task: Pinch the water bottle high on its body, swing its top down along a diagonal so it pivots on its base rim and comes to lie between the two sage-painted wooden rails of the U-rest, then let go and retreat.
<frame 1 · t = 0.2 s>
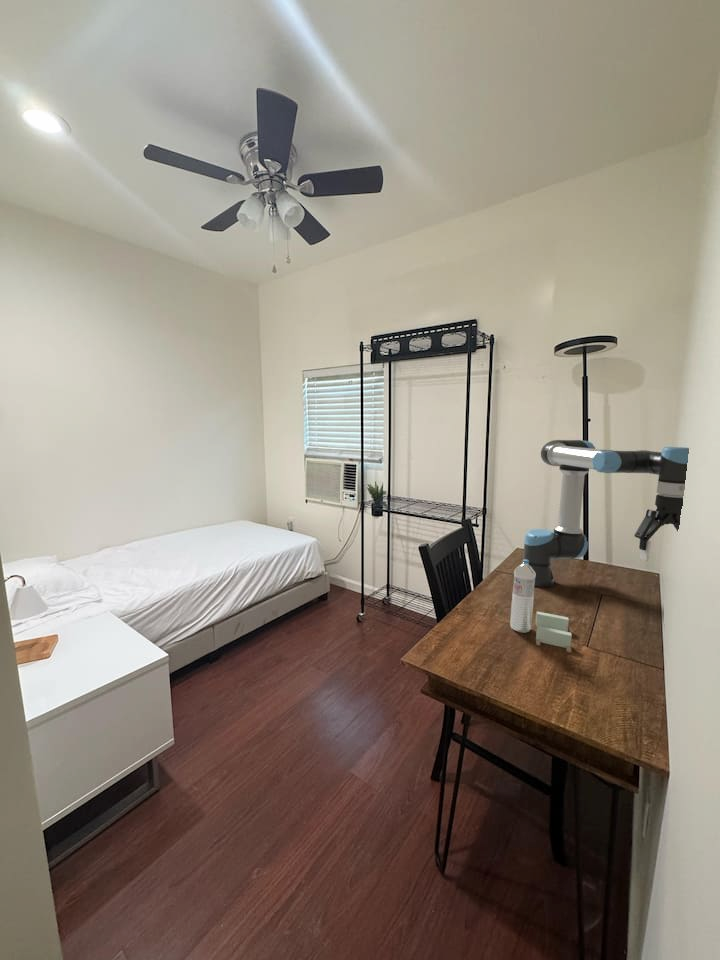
hand: (662, 558, 125), 28 cm above the table, fingers open, 13 cm apart
u rest: (551, 635, 130), on the table
water bottle: (520, 628, 134), on the table
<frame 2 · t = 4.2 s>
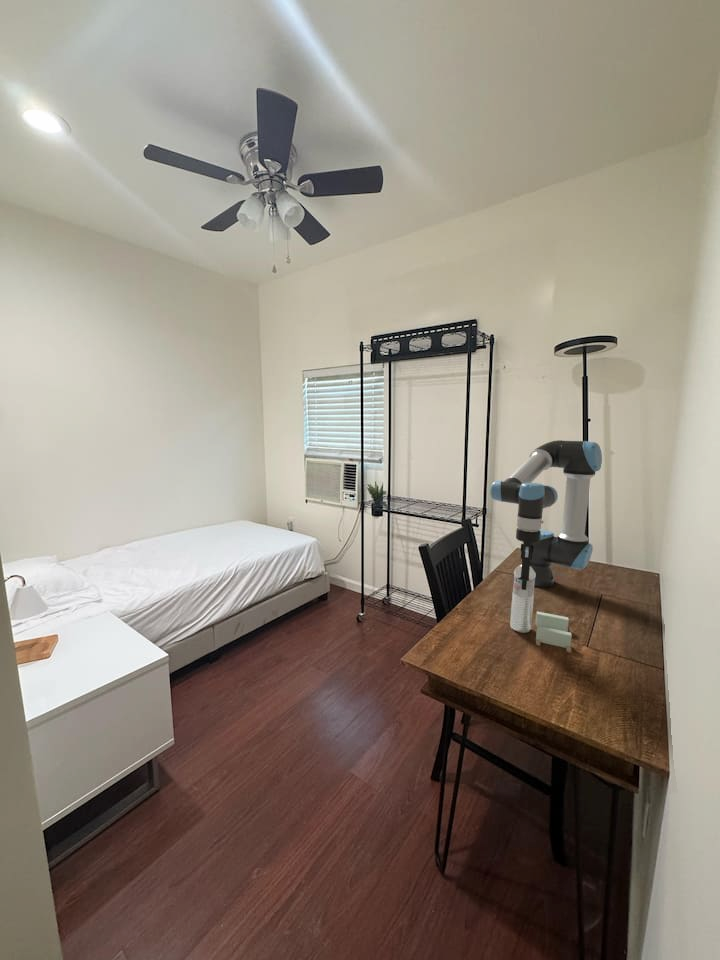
hand: (523, 593, 132), 13 cm above the table, fingers closed on water bottle, 7 cm apart
water bottle: (520, 628, 134), on the table, touching gripper
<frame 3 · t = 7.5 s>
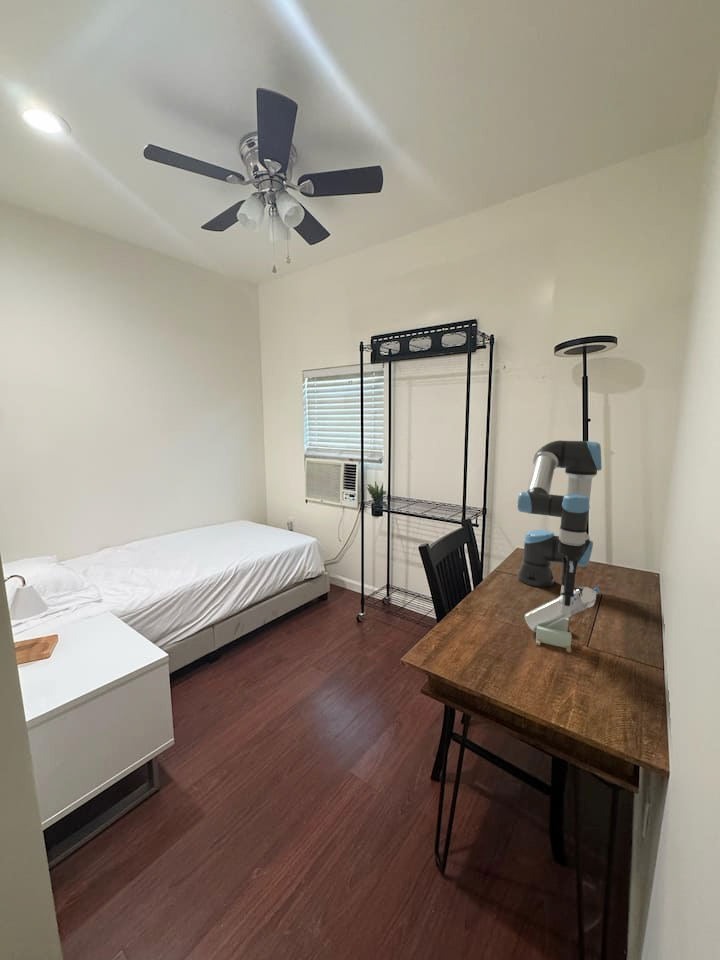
hand: (564, 608, 127), 10 cm above the table, fingers closed on water bottle, 7 cm apart
water bottle: (529, 623, 132), point 2 cm above the table, touching gripper
when the fingers open (3 cm above the table, at t = 11.0 s): water bottle stays where it is, point 3 cm above the table.
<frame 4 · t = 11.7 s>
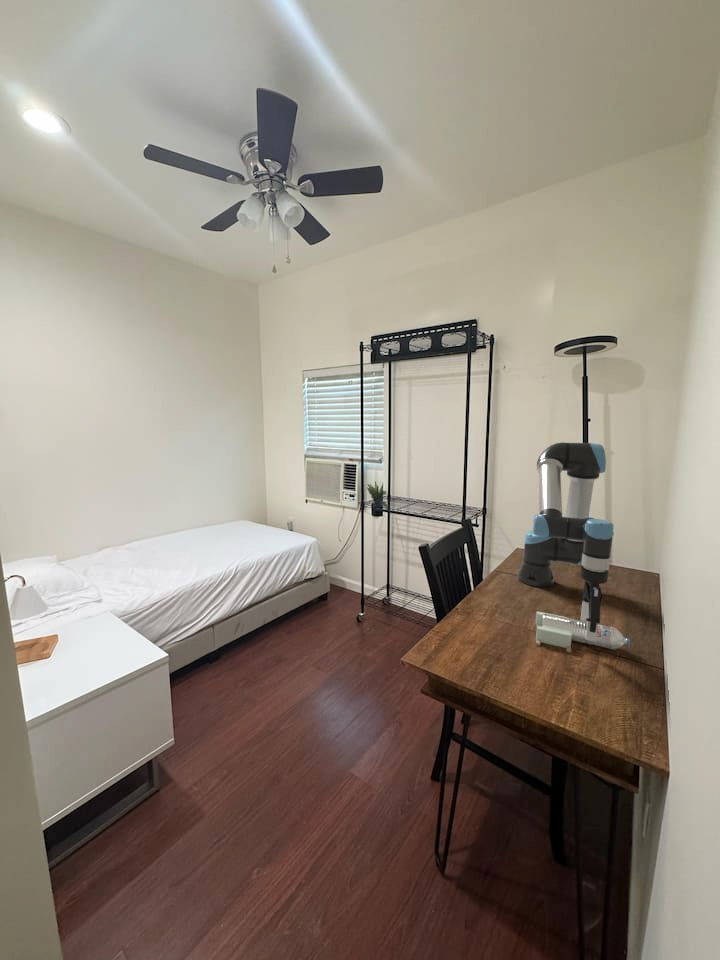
hand: (587, 629, 125), 4 cm above the table, fingers open, 13 cm apart
water bottle: (541, 623, 131), point 3 cm above the table
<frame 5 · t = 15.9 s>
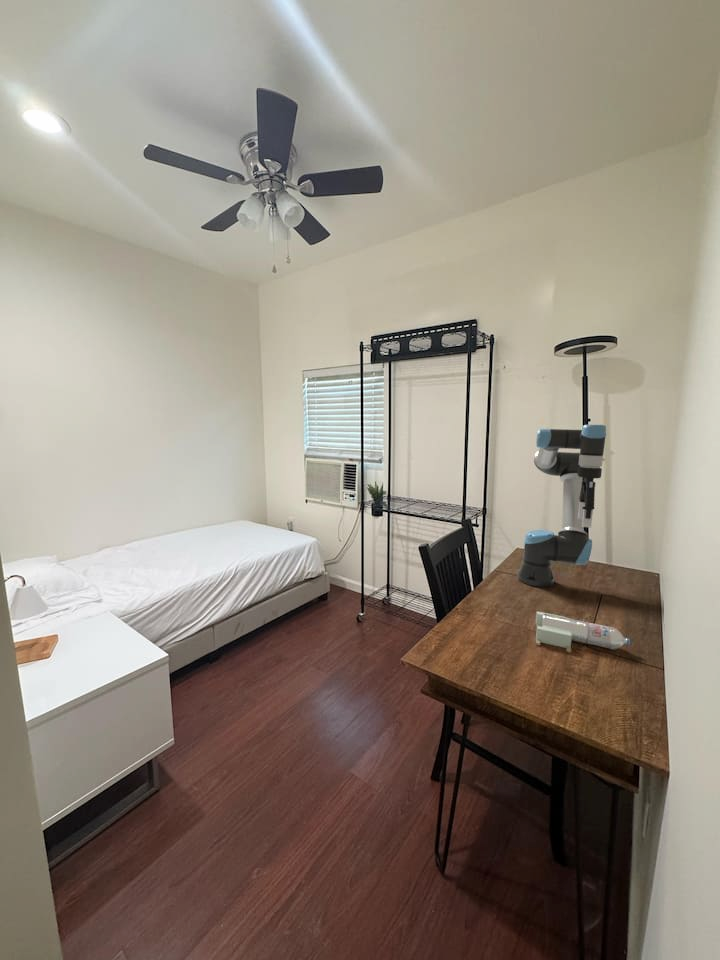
hand: (584, 522, 144), 35 cm above the table, fingers open, 13 cm apart
nothing on the table moved.
at the end: water bottle tilted 90°; water bottle 3.5 cm from the u rest (horizontally); water bottle point 3.4 cm above the table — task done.
